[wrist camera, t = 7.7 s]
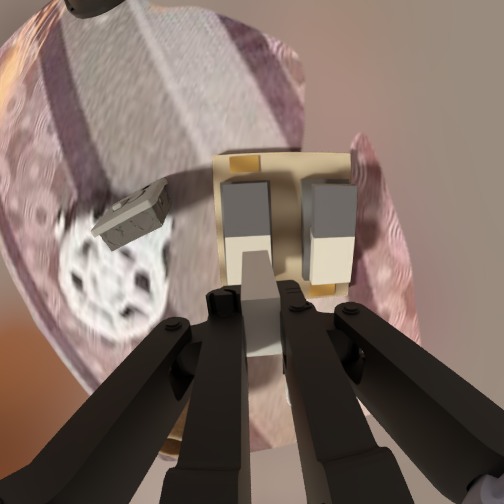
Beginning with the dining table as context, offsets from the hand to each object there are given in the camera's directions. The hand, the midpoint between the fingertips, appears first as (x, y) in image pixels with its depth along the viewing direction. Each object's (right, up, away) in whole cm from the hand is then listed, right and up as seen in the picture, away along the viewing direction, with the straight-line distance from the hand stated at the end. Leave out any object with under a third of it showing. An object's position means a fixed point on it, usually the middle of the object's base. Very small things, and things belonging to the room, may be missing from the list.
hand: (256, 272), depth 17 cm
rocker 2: (+9, +3, +15) cm, 18 cm away
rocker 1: (-1, +3, +15) cm, 16 cm away
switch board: (+4, +5, +21) cm, 22 cm away
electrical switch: (-15, +8, +20) cm, 26 cm away
